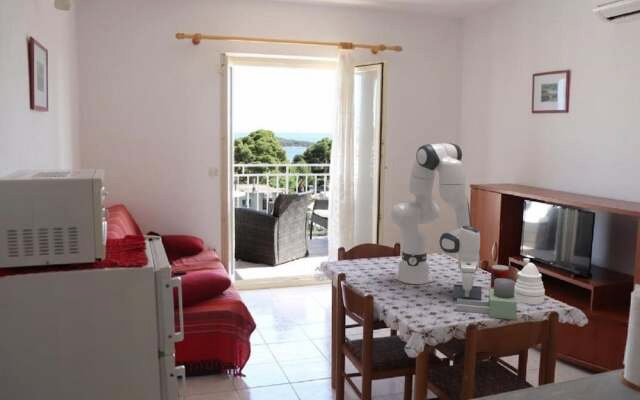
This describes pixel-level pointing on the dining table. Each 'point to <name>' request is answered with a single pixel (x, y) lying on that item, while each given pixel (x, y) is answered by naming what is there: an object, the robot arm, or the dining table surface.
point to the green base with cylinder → (494, 301)
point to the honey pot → (529, 285)
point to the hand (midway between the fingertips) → (467, 294)
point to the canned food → (498, 273)
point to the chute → (473, 294)
